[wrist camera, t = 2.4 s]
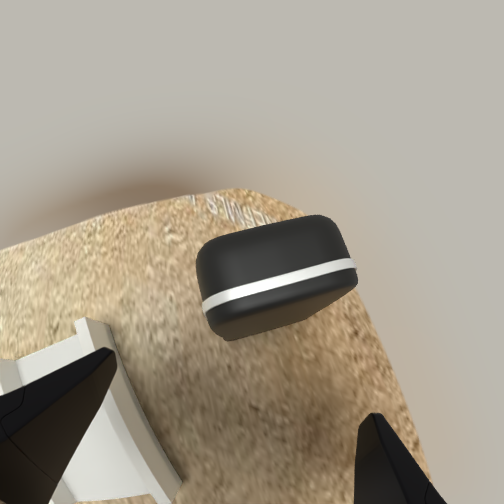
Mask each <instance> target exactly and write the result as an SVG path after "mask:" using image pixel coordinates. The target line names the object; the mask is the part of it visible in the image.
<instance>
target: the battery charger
mask: <svg viewBox="0 0 504 504" xmlns="http://www.w3.org/2000/svg"><path fill="white" fill-rule="evenodd" d="M356 270H357V267H356V264H355V262H354V260H353V259H351V258H350V255H349V253H348V250H347V248H346V245H345V243H344V240H343V238H342V235H341V233H340V231H339V229H338V227H337V225H336V224H335V223H334V222H333V221H332V220H331V219H330V218H328V217H325V216H322V215H310V216H304V217H299V218H295V219H290V220H285V221H281V222H276V223H271V224H267V225H263V226H259V227H254V228H250V229H246V230H242V231H238V232H234V233H230V234H226V235H223V236H219V237H217V238H214V239H212V240H210V241H208V242H207V243H205V244H204V246H203V247H202V248H201V250H200V251H199V252H198V255H197V259H196V273H197V279H198V284H199V288H200V292H201V296H202V301H203V303H202V309H203V314H204V316H205V318H206V320H207V321H208V324H209V326H210V328H211V329H212V330H213V331H214V332H215V333H216V334H217V335H219V336H221V337H223V339H224V340H225V341H231V340H235V339H239V338H243V337H247V336H251V335H254V334H258V333H262V332H265V331H269V330H272V329H276V328H279V327H282V326H286V325H289V324H292V323H296V322H299V321H302V320H305V319H307V318H308V317H310V316H312V315H313V314H315V313H316V312H318V311H320V310H321V309H323V308H325V307H326V306H328V305H330V304H331V303H333V302H335V301H336V300H338V299H339V298H341V297H342V296H344V295H345V294H347V293H348V292H349V291H351V290H352V289H353V288H355V287H356V285H357V284H358V277H357V274H356Z"/></svg>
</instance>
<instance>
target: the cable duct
mask: <svg viewBox="0 0 504 504" xmlns="http://www.w3.org/2000/svg"><path fill="white" fill-rule="evenodd" d="M74 323H75V327H76V331H77V335H74V336H72V337H70V338H67V339H65V340H62V341H60V342H58V343H55V344H53V345H51V346H48V347H46V348H44V349H41V350H39V351H37V352H34V353H32V354H29V355H27V356H25V357H22V358H20V359H18V360H8V359H1V358H0V396H1V395H3V394H6V393H9V392H11V391H13V390H15V389H18V388H20V387H22V386H24V385H27V384H28V383H30V382H32V381H35V380H37V379H39V378H41V377H43V376H45V375H47V374H49V373H51V372H53V371H55V370H57V369H59V368H61V367H63V366H65V365H67V364H69V363H71V362H74V361H76V360H78V359H80V358H82V357H84V356H86V355H88V354H90V353H92V352H94V351H96V350H98V349H100V348H102V347H108V348H110V349H112V350H114V351H115V354H116V360H117V371H116V373H115V376H114V378H113V380H112V382H111V385H110V387H109V389H108V392H107V394H106V396H105V398H104V401H103V403H102V405H101V407H100V409H99V410H98V412H97V414H96V416H95V417H94V419H93V421H92V422H91V424H90V426H89V428H88V430H87V431H86V433H85V435H84V437H83V438H82V440H81V442H80V444H79V446H78V447H77V449H76V451H75V453H74V455H73V457H72V459H71V460H70V462H69V464H68V466H67V468H66V470H65V472H64V474H63V476H62V477H61V479H60V481H59V483H58V486H57V488H56V490H55V492H54V494H53V496H52V498H51V500H50V502H49V504H74V503H75V502H82V501H98V500H109V499H118V498H125V497H132V496H138V495H144V494H150V493H151V495H152V496H153V498H154V499H155V501H156V502H157V503H158V504H171V503H172V502H173V500H174V498H175V496H176V494H177V492H178V490H179V488H180V486H181V484H182V480H181V479H180V477H179V476H178V474H177V472H176V471H175V469H174V468H173V466H172V464H171V463H170V461H169V459H168V457H167V456H166V454H165V452H164V450H163V449H162V447H161V445H160V443H159V441H158V440H157V438H156V436H155V434H154V432H153V430H152V428H151V426H150V424H149V422H148V420H147V418H146V416H145V414H144V412H143V410H142V408H141V406H140V403H139V401H138V399H137V397H136V395H135V392H134V390H133V388H132V385H131V383H130V381H129V378H128V376H127V373H126V371H125V368H124V366H123V363H122V361H121V358H120V355H119V353H118V350H117V347H116V345H115V342H114V339H113V336H112V333H111V330H110V327H109V325H108V324H105V323H102V322H99V321H96V320H93V319H90V318H87V317H83V318H81V319H78V320H76V321H74Z"/></svg>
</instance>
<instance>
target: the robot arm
mask: <svg viewBox="0 0 504 504" xmlns="http://www.w3.org/2000/svg"><path fill="white" fill-rule="evenodd" d="M116 371H117V360H116V354H115V351H114V350H112V349H110V348H108V347H102V348H100V349H98V350H96V351H94V352H92V353H90V354H88V355H86V356H84V357H82V358H80V359H78V360H76V361H74V362H71V363H69V364H67V365H65V366H63V367H61V368H59V369H57V370H55V371H53V372H51V373H49V374H47V375H45V376H43V377H41V378H39V379H37V380H35V381H32V382H30V383H28V384H27V385H24V386H22V387H20V388H18V389H15V390H13V391H11V392H9V393H6V394H3V395H1V396H0V504H49V502H50V500H51V498H52V496H53V494H54V492H55V490H56V488H57V486H58V483H59V481H60V479H61V477H62V476H63V474H64V472H65V470H66V468H67V466H68V464H69V462H70V460H71V459H72V457H73V455H74V453H75V451H76V449H77V447H78V446H79V444H80V442H81V440H82V438H83V437H84V435H85V433H86V431H87V430H88V428H89V426H90V424H91V422H92V421H93V419H94V417H95V416H96V414H97V412H98V410H99V409H100V407H101V405H102V403H103V401H104V398H105V396H106V394H107V392H108V389H109V387H110V385H111V382H112V380H113V378H114V376H115V373H116ZM354 504H447V503H446V502H445V501H444V499H443V498H442V497H441V496H440V495H439V493H438V492H437V490H436V489H435V488H434V486H433V485H432V483H431V482H430V481H429V479H428V478H427V477H426V475H425V474H424V472H423V471H422V469H421V468H420V467H419V465H418V464H417V462H416V461H415V460H414V458H413V457H412V455H411V454H410V453H409V451H408V450H407V448H406V447H405V445H404V444H403V443H402V441H401V440H400V438H399V437H398V436H397V434H396V433H395V432H394V430H393V429H392V427H391V426H390V425H389V423H388V422H387V420H386V419H385V418H384V416H383V415H382V414H381V413H370V414H369V415H368V416H367V417H366V418H365V419H364V421H363V422H362V423H361V424H360V426H359V429H358V438H357V448H356V457H355V477H354Z"/></svg>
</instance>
